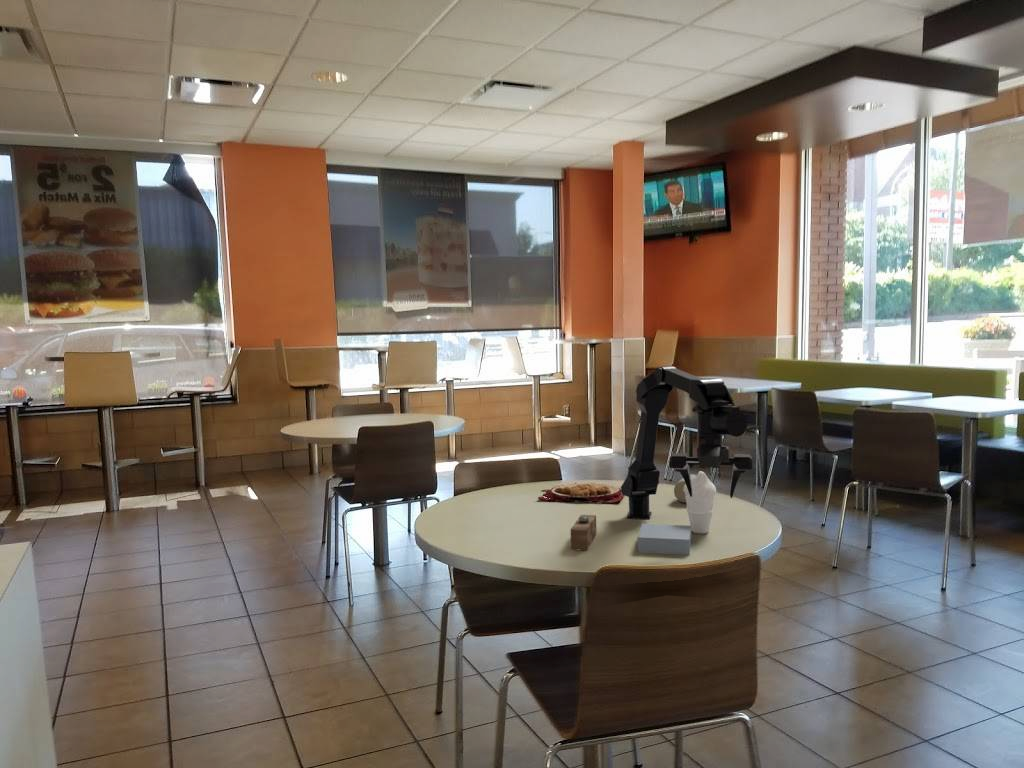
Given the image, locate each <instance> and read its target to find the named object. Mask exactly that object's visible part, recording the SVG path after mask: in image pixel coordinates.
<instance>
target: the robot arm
mask: <svg viewBox="0 0 1024 768" xmlns="http://www.w3.org/2000/svg"><path fill="white" fill-rule="evenodd" d="M675 388H676V389H677V390H680V391H683V392H685V393H687V394H688V398H689V399H691V400H692V401H693V402H694V403H695V406H694V407H692V409H691V411H692V412H694V413H696V423H697V424H696V427H697V431H696V432H697V448H696V456H688V453H687V452H686V453H679V452H678V453H676V452H673V453H672V454H671V455H670V457H669V468H670V469H675V470H674V471H675V472H677V473H680V474H681V476H682V478H684V481H685V483H686V486H687V489H688V492H689V494H690V497H692V485H691V477H690V474H691V471H690V466H691V465H692V466H693V465H694V466H695V465H697V466H698V467H699V468H700V469H706V468H710V469H711V468H713V469H719V468H721V466H732V472H731V473H732V474H731V479H730V480H731V482H730V489H729V490H730V491H729V493H730V496H729V497H730V498H731V499H732V498H733V496H734V493H735V489H736V487H737V483H738V481H739V478H741V475H742V474H746V473H747V470H752V469H753V458H752V455H751V454H749V453H734V456H733V457H730V449H729V447H730V446H727V445H726V446H725V445H723V435H724V436H730V437H733V438H735V437H737V438H738V437H741V436H742V435H743V434H744V433H745V432H747V428H748V420H747V417H746V416H745V414H744V413H743V412H741V411H740V406H738V405H735V403H734V399H733V397H732V396H731V394H730V392H729V389H728V388H727V386H726V384H725V381H724V380H723V379H722V378H716V377H714V378H713V377H699V376H696V375H694V374H691V373H689V372H686V371H684V370H682V369H678V368H677V367H675V366H672V365H671V366H670V365H669V366H660V367H657V368H656V369H655V370H654V371H653V372H652V373H650V374H649V375H648V376H646V377H644V378H643V379H642V380H641V381H640V382H639V383H638V384H637V386H636V389H635V395H636V403H637V405H638V407H639V409H640V419H639V425H638V426H639V427H638V436H637V444H636V453H635V454H636V455H635V460H633V462H632V463H631V465H629V467H628V471H627V475H626V478H625V480H624V481H623V483H622V484H621V486H620V489H621V493H622V495H625V496H624V497H627V498H628V512H627V515H626V519H645V520H648V519H651V517H652V511H650V495H657V492H658V491H657V490H658V486H659V484H660V481H659V479H660V474H661V472H660V470H659V469H657V467H656V464H655V453H656V446H657V445H656V444H657V437H658V431H659V430H658V428H659V421H660V414H661V413H662V411H663V410H664V408H665V407H666V406H667V404H668V400H669V395H670V394H671V393H672V392H673V391H674V390H675Z"/></svg>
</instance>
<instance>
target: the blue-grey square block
mask: <svg viewBox="0 0 1024 768" xmlns="http://www.w3.org/2000/svg"><path fill="white" fill-rule="evenodd" d="M691 544H692V530H691V525H682V524H681V525H680V524H658V523H657V524H655V523H654V524H652V523H641V527H640V529H639V533H638V536H637V552H638V553H650V554H671V555H687V556H688V555H689V556H690V554H691Z"/></svg>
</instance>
